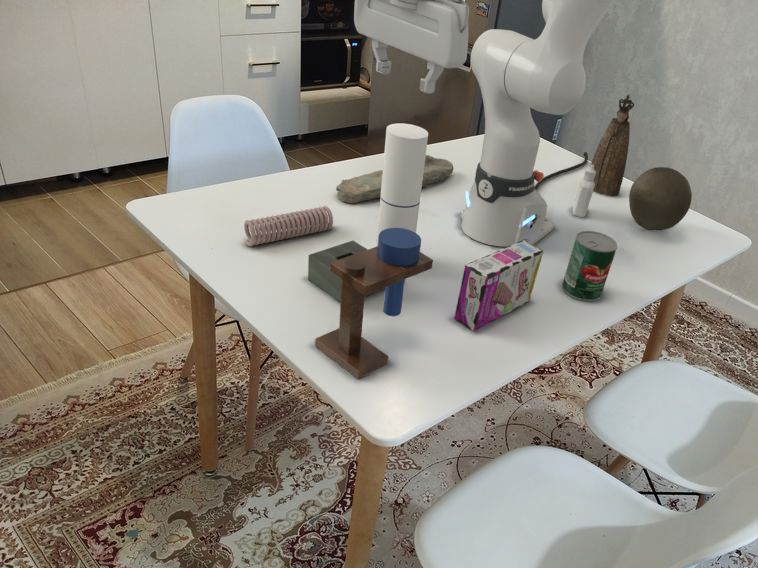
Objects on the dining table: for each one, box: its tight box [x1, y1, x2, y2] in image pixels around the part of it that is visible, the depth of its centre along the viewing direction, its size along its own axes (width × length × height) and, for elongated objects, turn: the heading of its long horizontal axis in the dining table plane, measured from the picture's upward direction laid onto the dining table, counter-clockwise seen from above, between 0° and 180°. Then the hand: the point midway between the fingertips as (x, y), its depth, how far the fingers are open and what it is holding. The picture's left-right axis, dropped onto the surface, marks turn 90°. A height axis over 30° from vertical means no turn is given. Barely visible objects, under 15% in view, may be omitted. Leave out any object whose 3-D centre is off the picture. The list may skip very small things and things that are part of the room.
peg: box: [377, 228, 422, 317], centre depth 99 cm, size 6×6×13 cm
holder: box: [307, 240, 385, 303], centre depth 115 cm, size 10×10×5 cm
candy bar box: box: [454, 240, 544, 332], centre depth 114 cm, size 11×5×16 cm
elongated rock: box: [335, 154, 455, 204], centre depth 153 cm, size 35×5×10 cm
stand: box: [314, 246, 434, 380], centre depth 99 cm, size 15×10×16 cm
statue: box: [589, 94, 635, 197], centre depth 166 cm, size 9×8×25 cm
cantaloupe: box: [628, 166, 693, 232], centre depth 152 cm, size 14×14×15 cm
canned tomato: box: [561, 230, 618, 302], centre depth 125 cm, size 8×8×11 cm
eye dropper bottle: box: [572, 164, 596, 218], centre depth 155 cm, size 4×6×12 cm
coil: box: [243, 205, 334, 247], centre depth 126 cm, size 5×5×18 cm
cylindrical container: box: [375, 122, 429, 247], centre depth 119 cm, size 7×7×25 cm
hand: (404, 82), depth 99 cm, fingers open, 8 cm apart
